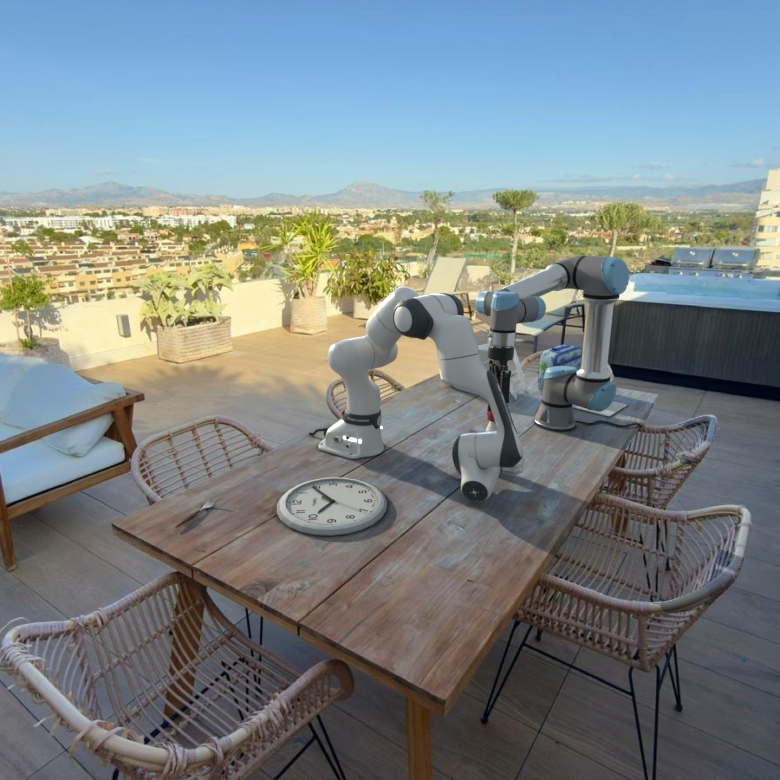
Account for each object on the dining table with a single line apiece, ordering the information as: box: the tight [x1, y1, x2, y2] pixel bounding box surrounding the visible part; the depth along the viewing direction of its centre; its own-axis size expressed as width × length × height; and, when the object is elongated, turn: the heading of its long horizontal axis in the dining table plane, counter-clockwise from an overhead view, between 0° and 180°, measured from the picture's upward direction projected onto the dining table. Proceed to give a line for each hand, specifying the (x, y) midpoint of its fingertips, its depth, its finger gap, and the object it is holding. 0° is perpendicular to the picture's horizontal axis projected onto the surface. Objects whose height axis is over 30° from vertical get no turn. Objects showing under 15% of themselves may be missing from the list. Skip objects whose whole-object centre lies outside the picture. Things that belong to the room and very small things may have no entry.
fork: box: [174, 492, 220, 529], centre depth 137 cm, size 3×16×2 cm, turn 160°
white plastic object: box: [438, 342, 531, 400], centre depth 245 cm, size 37×45×31 cm
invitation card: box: [573, 400, 629, 418], centre depth 226 cm, size 21×1×15 cm
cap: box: [487, 410, 495, 422], centre depth 160 cm, size 5×5×2 cm
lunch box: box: [537, 344, 583, 391], centre depth 246 cm, size 26×11×21 cm, turn 134°
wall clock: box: [276, 476, 388, 537], centre depth 142 cm, size 30×2×30 cm
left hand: (493, 449), depth 164 cm, fingers closed on bottle, 5 cm apart
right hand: (495, 418), depth 160 cm, fingers open, 7 cm apart
